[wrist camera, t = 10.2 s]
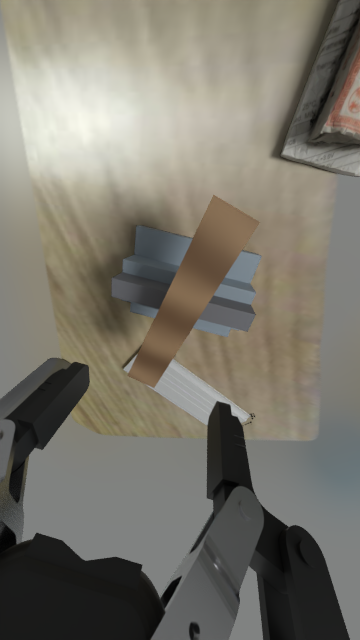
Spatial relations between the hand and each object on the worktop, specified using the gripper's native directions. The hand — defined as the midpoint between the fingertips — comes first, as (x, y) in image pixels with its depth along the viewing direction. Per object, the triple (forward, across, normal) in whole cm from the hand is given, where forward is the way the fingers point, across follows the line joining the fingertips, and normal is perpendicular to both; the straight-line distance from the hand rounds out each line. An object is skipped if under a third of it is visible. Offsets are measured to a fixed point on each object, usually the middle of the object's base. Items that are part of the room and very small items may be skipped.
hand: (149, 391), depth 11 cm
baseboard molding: (+23, -6, +25) cm, 35 cm away
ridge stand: (+22, 0, 0) cm, 22 cm away
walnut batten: (+13, 0, 0) cm, 13 cm away
